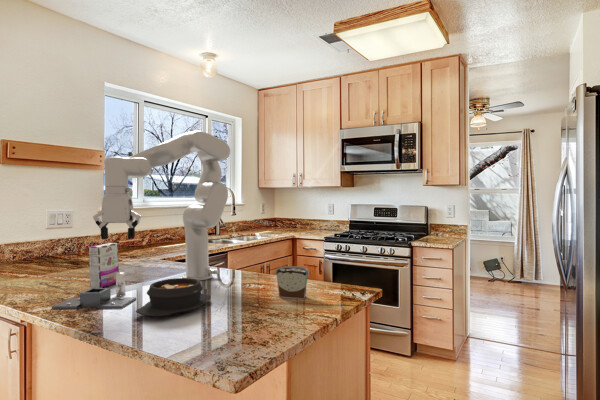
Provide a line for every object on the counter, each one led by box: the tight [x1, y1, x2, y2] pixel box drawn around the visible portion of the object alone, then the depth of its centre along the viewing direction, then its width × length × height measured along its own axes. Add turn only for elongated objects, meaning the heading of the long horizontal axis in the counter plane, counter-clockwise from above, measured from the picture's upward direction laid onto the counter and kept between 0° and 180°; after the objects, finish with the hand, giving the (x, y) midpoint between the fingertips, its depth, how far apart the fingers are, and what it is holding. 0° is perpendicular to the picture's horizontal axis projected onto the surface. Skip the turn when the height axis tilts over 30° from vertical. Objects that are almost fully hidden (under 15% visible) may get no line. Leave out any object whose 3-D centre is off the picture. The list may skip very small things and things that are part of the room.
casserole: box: [135, 277, 212, 318], centre depth 119 cm, size 25×19×8 cm
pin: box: [115, 271, 126, 297], centre depth 137 cm, size 3×3×8 cm
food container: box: [274, 265, 310, 300], centre depth 134 cm, size 12×6×10 cm, turn 71°
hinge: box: [51, 287, 137, 310], centre depth 126 cm, size 23×10×4 cm, turn 89°
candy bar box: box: [88, 242, 120, 289], centre depth 152 cm, size 11×5×16 cm, turn 168°
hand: (117, 238), depth 137 cm, fingers open, 9 cm apart
